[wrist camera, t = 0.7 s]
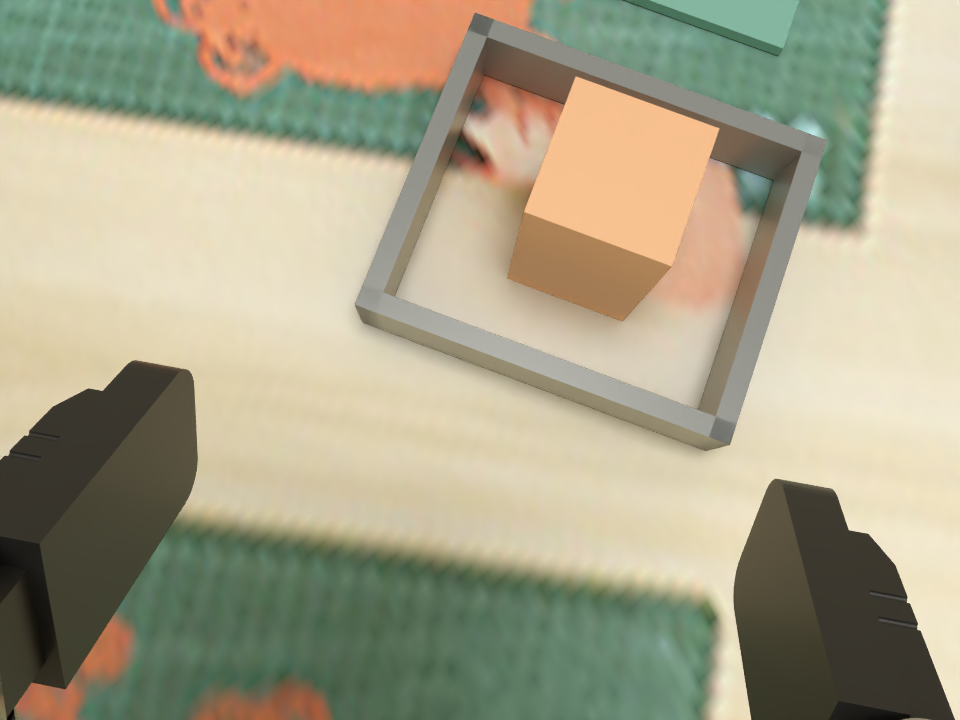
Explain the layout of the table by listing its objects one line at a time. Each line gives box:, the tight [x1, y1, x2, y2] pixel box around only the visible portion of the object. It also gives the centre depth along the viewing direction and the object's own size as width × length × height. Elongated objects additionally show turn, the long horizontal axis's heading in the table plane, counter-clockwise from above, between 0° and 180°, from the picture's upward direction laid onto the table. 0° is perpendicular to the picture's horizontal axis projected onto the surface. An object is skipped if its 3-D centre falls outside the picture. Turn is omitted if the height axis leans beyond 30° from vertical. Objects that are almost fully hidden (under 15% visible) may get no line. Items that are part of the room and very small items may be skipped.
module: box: [507, 77, 720, 321], centre depth 32 cm, size 5×5×8 cm
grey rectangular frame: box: [355, 13, 827, 451], centre depth 35 cm, size 15×13×3 cm
